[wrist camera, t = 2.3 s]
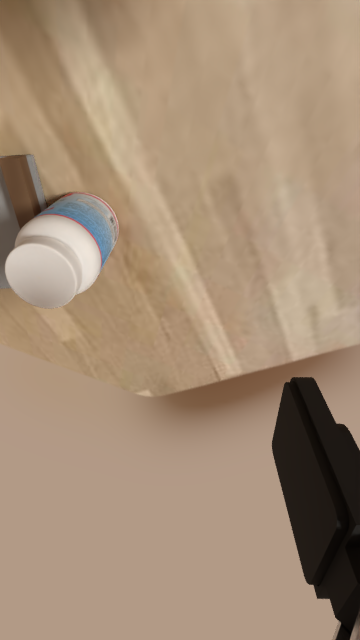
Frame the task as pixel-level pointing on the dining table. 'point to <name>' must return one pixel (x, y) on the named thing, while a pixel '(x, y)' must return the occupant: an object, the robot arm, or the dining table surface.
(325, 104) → the dining table surface
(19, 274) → the pill bottle
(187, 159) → the dining table surface
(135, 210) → the dining table surface
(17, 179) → the stop bar
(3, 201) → the mat
